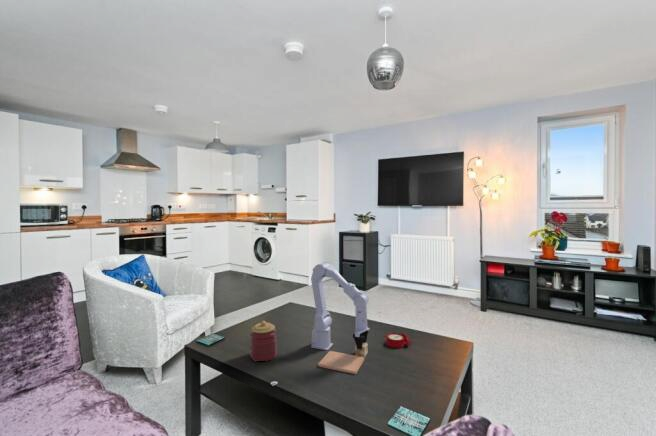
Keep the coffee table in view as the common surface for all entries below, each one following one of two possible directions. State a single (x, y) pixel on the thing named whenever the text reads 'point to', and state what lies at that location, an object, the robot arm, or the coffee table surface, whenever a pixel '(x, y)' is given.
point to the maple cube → (362, 350)
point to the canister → (263, 342)
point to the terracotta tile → (341, 362)
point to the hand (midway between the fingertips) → (361, 345)
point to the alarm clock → (397, 340)
